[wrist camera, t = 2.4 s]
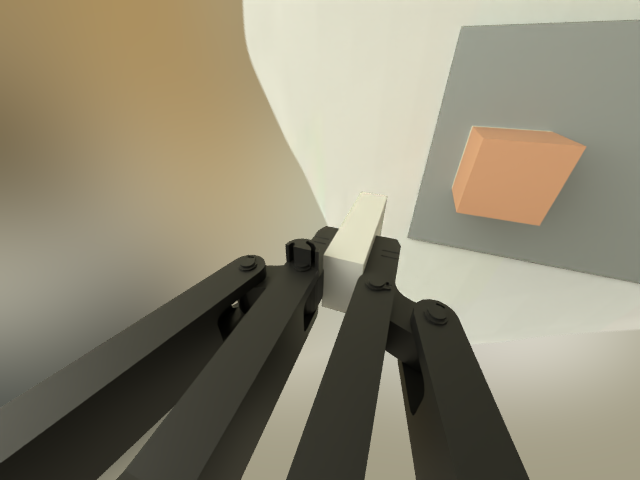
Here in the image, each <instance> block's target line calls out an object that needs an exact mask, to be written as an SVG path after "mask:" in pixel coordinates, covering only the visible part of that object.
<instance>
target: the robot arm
mask: <svg viewBox="0 0 640 480" xmlns="http://www.w3.org/2000/svg"><path fill="white" fill-rule="evenodd" d="M386 202H387V196H385V195H378V194H372V193H365V192H361V193H360V195H359V197H358V198H357V200H356V202H355V203H354V205H353V207H352V208H351V210H350V212H349V213H348V215H347V217H346V218H345V220H344V222H343V223H342V225H341V227H340V228H339V229H338V228H333V227H328V226H326V227H324V228H322V229H320V230H319V231H318V232H317V233H316V235H315V236H314V237H313V239H312V240H308V239H295V240H292V241H289V242H288V243H287V244H286V259H287V262H286V263H285V265H282V266H266V265H265V261H264V259H263V258H261V257H260V256H256V255H247V256H242V257H240V258H238V259H236V260H234V261H233V262H231V263H229V264H228V265H227V266H225V267H223V268H222V269H220V270H218V271H217V272H215V273H214V274H212V275H211V276H209V277H207V278H206V279H204V280H202V281H201V282H199V283H198V284H196V285H195V286H193V287H191V288H190V289H188V290H187V291H185V292H183V293H182V294H180V295H179V296H177V297H175V298H174V299H172V300H171V301H169V302H168V303H166V304H164V305H163V306H161V307H160V308H158V309H157V310H155V311H153V312H152V313H150V314H148V315H147V316H145V317H144V318H142V319H140V320H139V321H137V322H136V323H134V324H133V325H131V326H130V327H128V328H126V329H125V330H123V331H122V332H120V333H118V334H117V335H115V336H114V337H112V338H110V339H109V340H107V341H106V342H104V343H102V344H101V345H99V346H98V347H96V348H94V349H93V350H91V351H90V352H88V353H86V354H85V355H83V356H82V357H80V358H79V359H77V360H75V361H74V362H72V363H71V364H69V365H67V366H66V367H64V368H63V369H61V370H60V371H58V372H56V373H55V374H53V375H52V376H50V377H48V378H47V379H45V380H44V381H42V382H40V383H39V384H38V385H36V386H34V387H33V388H31V389H29V390H28V391H26V392H25V393H23V394H21V395H20V396H18V397H17V398H15V399H13V400H12V401H10V402H9V403H7V404H6V405H4V406H3V407H1V408H0V480H97V479H98V478H99V476H101V475H102V474H103V473H104V472H105V471H106V470H107V469H108V468H109V467H110V466H111V465H113V464H114V462H116V461H117V460H118V459H119V458H120V457H121V456H122V455H123V454H124V453H125V452H126V451H127V450H128V449H129V448H130V447H131V446H133V445H134V444H135V443H136V442H137V441H138V440H139V439H140V438H141V437H142V436H143V435H144V434H145V433H146V432H147V431H148V430H149V429H150V428H152V427H153V426H154V425H155V424H156V423H157V422H158V421H159V420H160V419H161V418H162V417H163V416H164V415H165V414H166V413H167V412H168V411H170V409H172V408H173V409H172V410H171V411H170V413H169V414H168V415H167V417H166V418H165V419H164V420H163V422H162V423H161V424H160V425H159V427H158V428H157V429H156V431H155V432H154V433H153V434H152V436H151V437H150V439H149V440H148V441H147V442H146V444H145V445H144V446H143V447H142V449H141V450H140V451H139V453H138V454H137V455H136V456H135V458H134V459H133V460H132V462H131V463H130V464H129V465H128V467H127V468H126V469H125V471H124V472H123V473H122V474H121V475H120V476H119V477H118V478H117V479H116V480H241V478H242V475H243V473H244V471H245V469H246V467H247V465H248V463H249V461H250V458H251V456H252V454H253V452H254V450H255V448H256V446H257V444H258V441H259V439H260V437H261V435H262V433H263V430H264V429H265V426H266V424H267V422H268V420H269V418H270V416H271V414H272V411H273V409H274V407H275V405H276V403H277V401H278V399H279V396H280V394H281V392H282V390H283V388H284V386H285V384H286V381H287V379H288V377H289V375H290V373H291V371H292V369H293V366H294V364H295V362H296V360H297V358H298V356H299V354H300V352H301V349H302V347H303V345H304V343H305V341H306V339H307V337H308V334H309V332H310V330H311V328H312V326H313V324H314V321H315V319H316V317H317V314H318V305H319V303H320V301H321V299H322V306H323V307H327V308H330V309H334V310H337V311H340V312H344V313H346V314H345V316H344V319H343V322H342V325H341V328H340V330H339V333H338V336H337V339H336V342H335V345H334V347H333V350H332V353H331V356H330V358H329V361H328V364H327V367H326V370H325V372H324V375H323V378H322V381H321V384H320V386H319V389H318V392H317V395H316V398H315V400H314V403H313V406H312V409H311V412H310V415H309V417H308V420H307V423H306V426H305V428H304V431H303V434H302V437H301V440H300V442H299V445H298V448H297V451H296V454H295V456H294V459H293V462H292V465H291V468H290V470H289V473H288V476H287V479H286V480H364V478H365V471H366V466H367V460H368V453H369V447H370V441H371V435H372V429H373V422H374V416H375V409H376V403H377V397H378V391H379V385H380V379H381V372H382V366H383V360H384V353H385V350H386V351H387V352H389V353H390V354H392V355H393V356H394V357H396V358H397V359H398V366H399V373H400V379H401V385H402V392H403V398H404V405H405V411H406V417H407V424H408V430H409V437H410V442H411V449H412V456H413V462H414V469H415V475H416V480H529V477H528V475H527V473H526V470H525V468H524V466H523V464H522V461H521V459H520V457H519V455H518V452H517V450H516V448H515V445H514V443H513V441H512V439H511V436H510V434H509V432H508V430H507V427H506V425H505V423H504V420H503V418H502V416H501V414H500V411H499V409H498V407H497V405H496V402H495V400H494V398H493V395H492V393H491V391H490V389H489V387H488V384H487V382H486V380H485V378H484V375H483V373H482V370H481V368H480V366H479V364H478V361H477V359H476V357H475V355H474V352H473V350H472V348H471V345H470V343H469V341H468V339H467V336H466V334H465V332H464V330H463V327H462V325H461V323H460V320H459V318H458V316H457V315H456V314H455V312H454V311H453V310H452V309H451V308H450V307H448V306H447V305H445V304H443V303H441V302H439V301H436V300H431V299H427V300H421V301H419V302H417V303H415V302H413V301H411V300H410V299H408V298H406V297H405V296H403V295H402V294H401V293H400V292H399V291H398V289H397V287H396V285H395V279H396V273H397V267H398V260H399V254H400V248H401V246H400V244H399V242H398V240H397V239H392V238H386V237H381V236H380V235H381V229H382V224H383V218H384V213H385V207H386ZM237 300H238V303H237V304H235V305H233V306H232V304H233V303H234V302H236V301H237Z"/></svg>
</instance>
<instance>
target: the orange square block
mask: <svg viewBox="0 0 640 480" xmlns="http://www.w3.org/2000/svg"><path fill="white" fill-rule="evenodd" d="M586 147H587V146H584V145H582V144H580V143H577V142H575V141H573V140H570V139H568V138H566V137H564V136H561V135H559V134H557V133H554V132H552V131H543V130H528V129H513V128H498V127H483V126H472V128H471V131H470V134H469V137H468V140H467V143H466V146H465V149H464V152H463V155H462V158H461V161H460V164H459V167H458V170H457V173H456V176H455V179H454V182H453V185H452V193H453V198H454V203H455V208H456V213H462V214H469V215H475V216H481V217H487V218H494V219H500V220H506V221H513V222H519V223H525V224H531V225H538V226H540V224H541V222H542V221H543V219H544V217H545V216H546V214H547V212H548V211H549V209H550V207H551V206H552V204H553V202H554V201H555V199H556V197H557V196H558V194H559V192H560V191H561V189H562V187H563V185H564V184H565V182H566V180H567V179H568V177H569V175H570V174H571V172H572V170H573V169H574V167H575V165H576V164H577V162H578V160H579V159H580V157H581V155H582V154H583V152H584V150H585V149H586Z"/></svg>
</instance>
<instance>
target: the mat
mask: <svg viewBox="0 0 640 480" xmlns="http://www.w3.org/2000/svg"><path fill="white" fill-rule="evenodd" d="M472 126H483V127H498V128H513V129H528V130H543V131H552V132H554V133H557V134H559V135H561V136H564V137H566V138H568V139H570V140H573V141H575V142H577V143H580V144H582V145H584V146H587V147H586V149H585V150H584V152H583V154H582V155H581V157H580V159H579V160H578V162H577V164H576V165H575V167H574V169H573V170H572V172H571V174H570V175H569V177H568V179H567V180H566V182H565V184H564V185H563V187H562V189H561V191H560V192H559V194H558V196H557V197H556V199H555V201H554V202H553V204H552V206H551V207H550V209H549V211H548V212H547V214H546V216H545V217H544V219H543V221H542V222H541V224H540V226H538V225H531V224H525V223H519V222H513V221H506V220H500V219H494V218H487V217H481V216H475V215H469V214H462V213H456V208H455V203H454V198H453V193H452V185H453V182H454V179H455V176H456V173H457V170H458V167H459V164H460V161H461V158H462V155H463V152H464V149H465V146H466V143H467V140H468V137H469V134H470V131H471V128H472ZM408 238H411V239H416V240H421V241H426V242H431V243H436V244H441V245H446V246H451V247H456V248H462V249H467V250H472V251H477V252H482V253H487V254H492V255H497V256H502V257H507V258H512V259H517V260H523V261H528V262H533V263H538V264H543V265H548V266H553V267H558V268H563V269H568V270H573V271H578V272H583V273H589V274H594V275H599V276H604V277H609V278H614V279H619V280H624V281H629V282H634V283H639V284H640V20H620V21H593V22H565V23H538V24H511V25H483V26H462V27H461V30H460V34H459V38H458V42H457V46H456V50H455V54H454V58H453V62H452V66H451V69H450V73H449V77H448V81H447V85H446V89H445V93H444V97H443V101H442V105H441V108H440V112H439V116H438V120H437V124H436V128H435V132H434V136H433V140H432V144H431V148H430V151H429V155H428V159H427V163H426V167H425V171H424V175H423V179H422V183H421V187H420V190H419V194H418V198H417V202H416V206H415V210H414V214H413V218H412V222H411V226H410V230H409V233H408Z"/></svg>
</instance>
